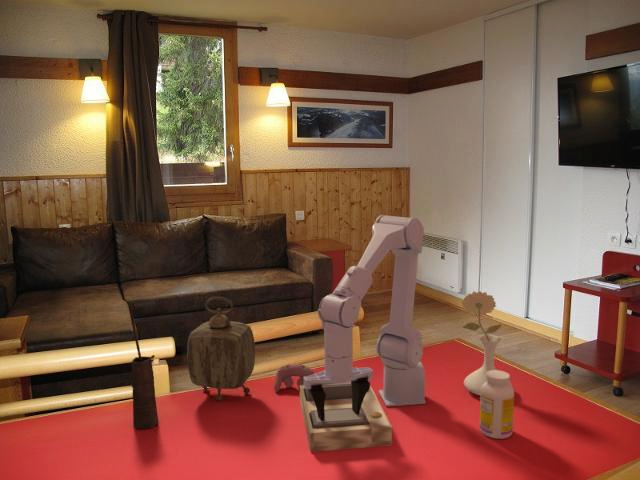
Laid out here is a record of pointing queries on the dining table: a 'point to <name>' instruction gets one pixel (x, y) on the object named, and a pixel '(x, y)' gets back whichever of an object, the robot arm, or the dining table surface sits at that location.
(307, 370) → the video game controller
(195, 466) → the dining table surface
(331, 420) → the brown block
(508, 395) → the supplement bottle
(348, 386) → the key grey
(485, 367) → the flower in vase
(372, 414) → the switch panel
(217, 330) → the tabletop clock
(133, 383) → the butter churn
